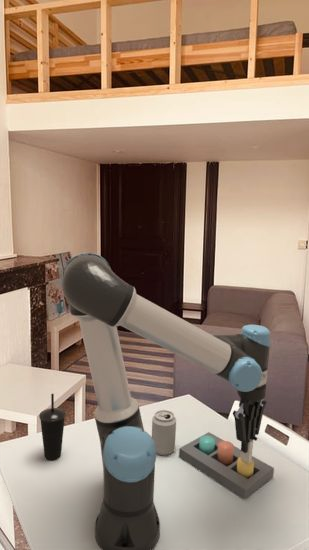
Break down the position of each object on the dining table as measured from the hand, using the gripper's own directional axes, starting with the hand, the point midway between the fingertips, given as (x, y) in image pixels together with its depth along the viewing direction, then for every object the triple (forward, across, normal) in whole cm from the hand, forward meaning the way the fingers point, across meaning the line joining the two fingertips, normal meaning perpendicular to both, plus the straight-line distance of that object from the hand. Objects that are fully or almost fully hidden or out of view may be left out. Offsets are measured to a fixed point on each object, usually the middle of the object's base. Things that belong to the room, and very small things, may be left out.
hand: (245, 460), depth 113 cm
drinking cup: (+6, -36, +44) cm, 57 cm away
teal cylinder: (+4, 0, +14) cm, 15 cm away
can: (+6, -8, +25) cm, 27 cm away
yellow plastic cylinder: (+4, 0, 0) cm, 4 cm away
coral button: (+3, 0, +7) cm, 8 cm away
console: (+6, 0, +7) cm, 9 cm away
